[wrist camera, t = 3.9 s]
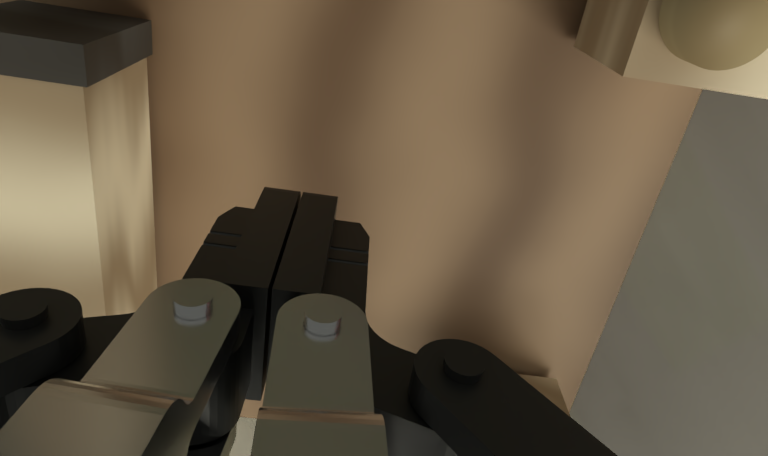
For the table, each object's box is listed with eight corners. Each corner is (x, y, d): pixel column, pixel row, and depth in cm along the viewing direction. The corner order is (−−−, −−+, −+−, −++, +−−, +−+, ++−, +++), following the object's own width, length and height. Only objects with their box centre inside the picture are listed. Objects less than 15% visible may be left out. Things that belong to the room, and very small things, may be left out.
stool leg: (166, 386, 23) (115, 488, 19) (73, 375, 23) (0, 476, 19) (151, 20, 17) (67, 50, 12) (20, -1, 17) (-112, 23, 12)
